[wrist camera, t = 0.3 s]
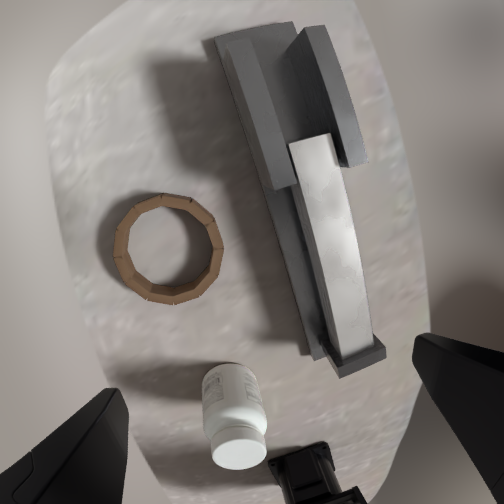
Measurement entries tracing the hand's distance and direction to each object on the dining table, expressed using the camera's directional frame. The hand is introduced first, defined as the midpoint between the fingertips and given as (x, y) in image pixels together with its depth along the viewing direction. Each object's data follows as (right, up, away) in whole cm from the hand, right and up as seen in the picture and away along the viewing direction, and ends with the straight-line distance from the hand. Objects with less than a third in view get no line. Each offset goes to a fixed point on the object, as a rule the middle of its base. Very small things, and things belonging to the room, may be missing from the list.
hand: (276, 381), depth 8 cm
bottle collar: (-6, +4, +12) cm, 14 cm away
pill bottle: (-3, -7, +16) cm, 18 cm away
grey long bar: (+4, +3, +13) cm, 14 cm away
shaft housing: (+3, +7, +13) cm, 15 cm away
